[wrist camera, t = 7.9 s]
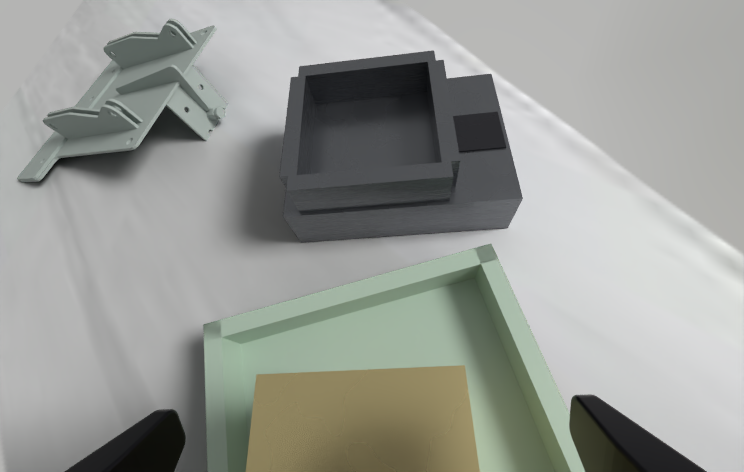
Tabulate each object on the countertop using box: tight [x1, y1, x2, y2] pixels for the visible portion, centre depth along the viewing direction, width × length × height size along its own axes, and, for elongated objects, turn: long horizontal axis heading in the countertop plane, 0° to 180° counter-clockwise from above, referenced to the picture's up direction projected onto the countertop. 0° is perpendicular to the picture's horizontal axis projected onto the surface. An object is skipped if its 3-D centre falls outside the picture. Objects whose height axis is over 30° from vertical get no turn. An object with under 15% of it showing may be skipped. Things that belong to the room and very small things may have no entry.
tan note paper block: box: [246, 365, 480, 472], centre depth 10 cm, size 4×4×9 cm
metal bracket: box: [17, 19, 228, 182], centre depth 26 cm, size 14×6×15 cm
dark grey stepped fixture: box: [280, 51, 523, 242], centre depth 19 cm, size 8×12×5 cm
